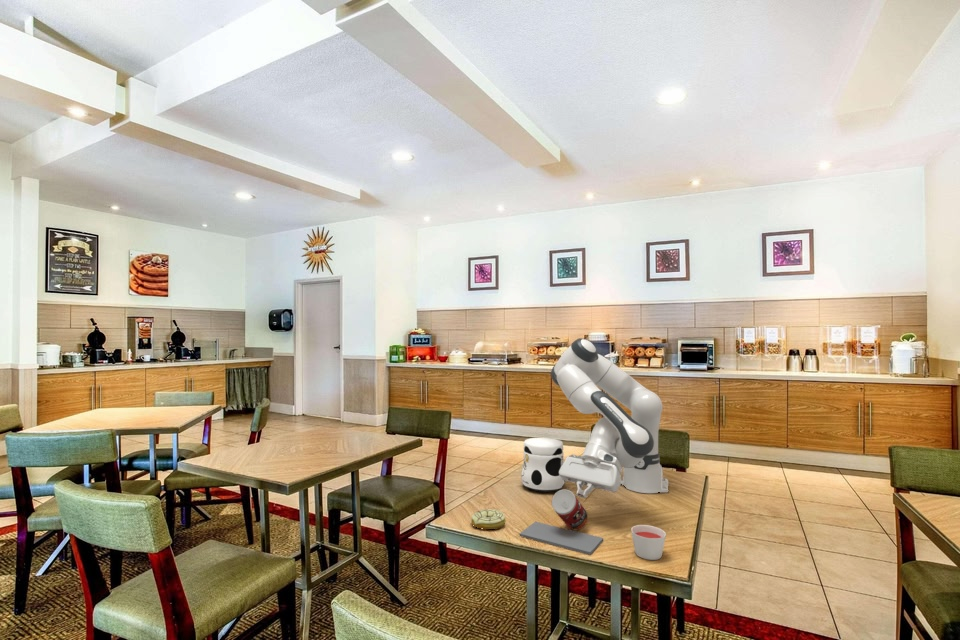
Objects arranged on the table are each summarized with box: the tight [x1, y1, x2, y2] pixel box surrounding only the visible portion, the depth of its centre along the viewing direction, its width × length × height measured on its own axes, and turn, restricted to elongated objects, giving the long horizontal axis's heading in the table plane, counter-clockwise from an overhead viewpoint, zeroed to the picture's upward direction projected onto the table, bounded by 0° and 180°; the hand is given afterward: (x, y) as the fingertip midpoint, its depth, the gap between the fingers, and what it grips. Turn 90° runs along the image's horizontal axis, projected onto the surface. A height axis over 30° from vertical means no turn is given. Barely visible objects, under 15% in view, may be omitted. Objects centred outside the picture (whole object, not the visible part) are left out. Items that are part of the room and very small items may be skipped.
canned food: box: [551, 488, 589, 531], centre depth 147 cm, size 8×8×11 cm
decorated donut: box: [471, 508, 506, 530], centre depth 152 cm, size 10×11×4 cm
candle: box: [630, 524, 667, 561], centre depth 132 cm, size 9×9×6 cm
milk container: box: [520, 437, 566, 493], centre depth 188 cm, size 17×17×18 cm
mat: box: [518, 521, 604, 556], centre depth 142 cm, size 11×22×1 cm, turn 58°
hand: (580, 496), depth 151 cm, fingers closed
